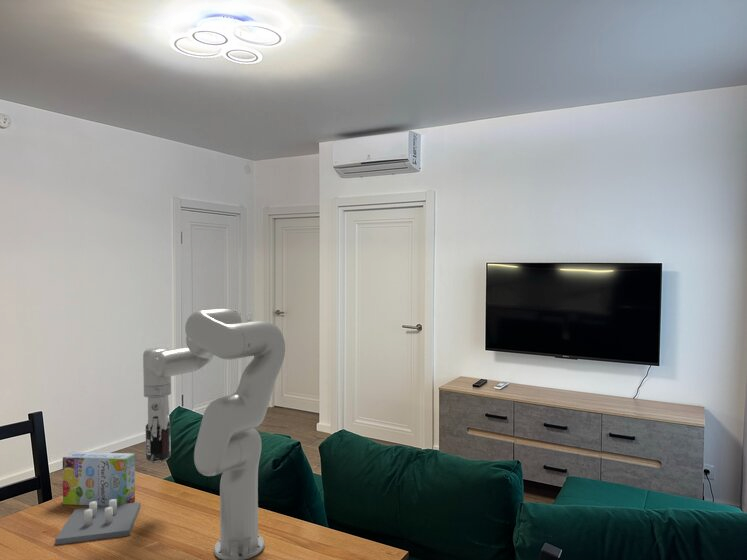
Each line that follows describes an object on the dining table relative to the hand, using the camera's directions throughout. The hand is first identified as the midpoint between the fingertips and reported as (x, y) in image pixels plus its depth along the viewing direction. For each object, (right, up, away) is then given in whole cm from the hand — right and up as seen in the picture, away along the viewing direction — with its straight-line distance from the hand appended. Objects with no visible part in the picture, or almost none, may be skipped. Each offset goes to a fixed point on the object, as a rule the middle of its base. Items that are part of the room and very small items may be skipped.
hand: (158, 449), depth 156 cm
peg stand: (-14, -19, -6) cm, 25 cm away
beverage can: (0, -3, 0) cm, 3 cm away
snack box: (-22, -19, +8) cm, 30 cm away
